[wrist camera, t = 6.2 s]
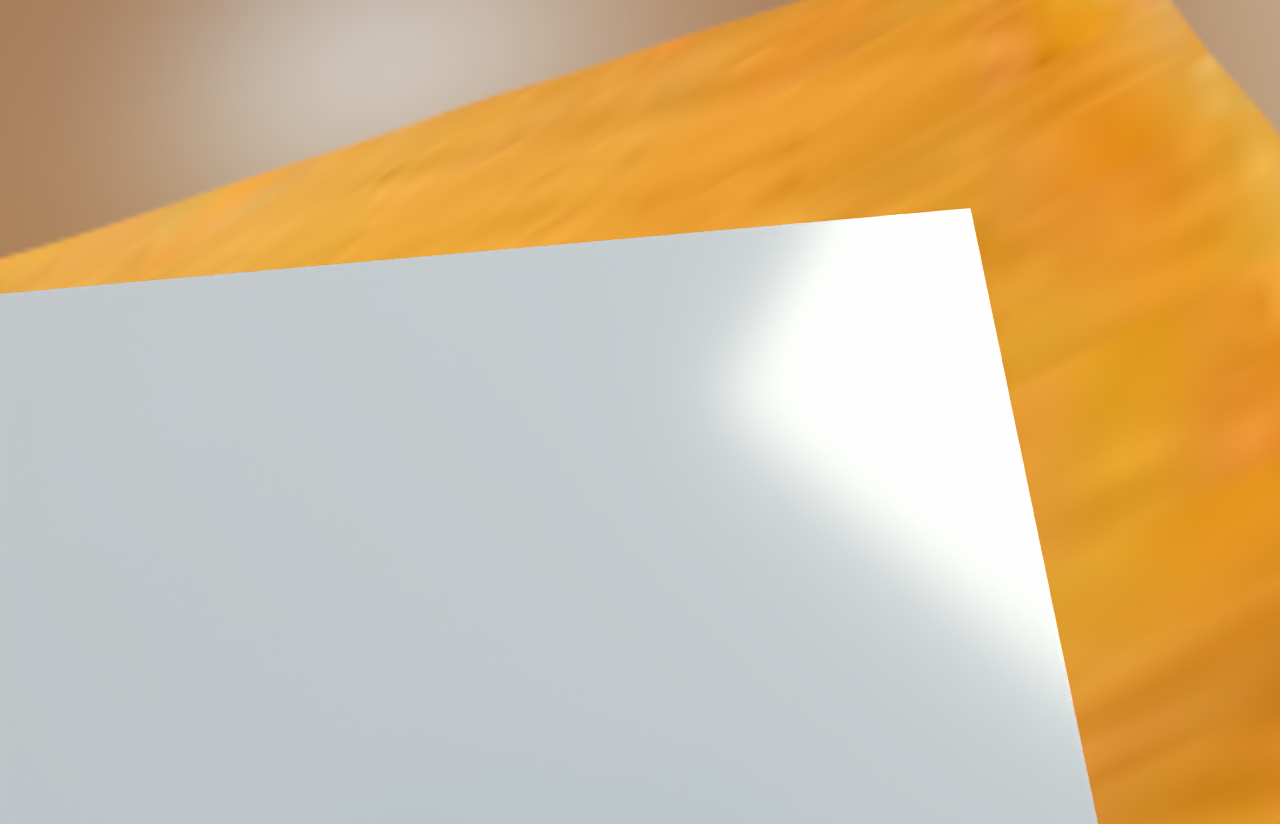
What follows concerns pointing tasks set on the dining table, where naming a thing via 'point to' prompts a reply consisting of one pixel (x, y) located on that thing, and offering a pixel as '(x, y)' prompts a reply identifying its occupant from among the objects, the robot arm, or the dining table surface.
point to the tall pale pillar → (531, 542)
